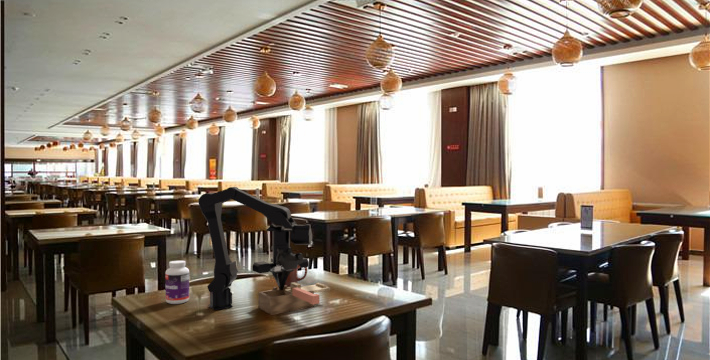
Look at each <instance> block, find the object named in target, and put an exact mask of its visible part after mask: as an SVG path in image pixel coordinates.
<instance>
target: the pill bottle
mask: <svg viewBox="0 0 710 360" xmlns="http://www.w3.org/2000/svg"><path fill="white" fill-rule="evenodd" d="M168 266H169V268H167V269H166V270H165V274H164V275H165V302H166V303H168V304H171V305H179V304H183V303H186V302H188V301H189V300H190V269H189V268H188V267H186V260H170V261H169V263H168Z"/></svg>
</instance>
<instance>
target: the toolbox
mask: <svg viewBox="0 0 710 360" xmlns="http://www.w3.org/2000/svg"><path fill="white" fill-rule="evenodd" d="M285 289H291V287H287V285H285V286H284V289H283V290H279V288H278V286H273V287H272V289H270V290H269V289H268V290H264V291H263V290H262V291H258V293H257V294H258V296H257V301H258V302H257V303H258V304H257V305H258V309H259V310H260V311H263V312H265V313H267V314H269V315H271V316H273V315H278V314H283V313H289V311H290V312H294V311H300V310H303V309H309V308H315V304H314V305H312V304H310V303H309V302H307V301H304V300H302V299H300V298H298V297H295V296H293V295H292V294H290V293H289V292H284V290H285ZM308 292H310V293H313V294H315V293H314V291H313V290H311V291H308Z"/></svg>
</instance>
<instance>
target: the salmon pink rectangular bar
mask: <svg viewBox="0 0 710 360" xmlns="http://www.w3.org/2000/svg"><path fill="white" fill-rule="evenodd" d="M292 295H293V296H295V297H298V298H300V299H302V300H304V301H307V302H309V303H310V304H312V305H314V306H315V305H318V304H320V302H321V301H320V294H318V293H314V294H313V293H310V292H308V291H305V290H303V289H300V288H298V287H296V288H292Z"/></svg>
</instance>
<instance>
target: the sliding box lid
mask: <svg viewBox="0 0 710 360" xmlns="http://www.w3.org/2000/svg"><path fill="white" fill-rule="evenodd" d="M296 287H298V288H300V289H303V290H305V291H311V290H313V291H314V294H317V293H321V292H327V291H331V287H329V286H327V284H324V283H321V282H316V283H315V284H311V285H304V286H302V285H301V283H299V282H298V283H295V282H293V283H291V289H285V290H284V292H289V293H290V294H292V288H296Z"/></svg>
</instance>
